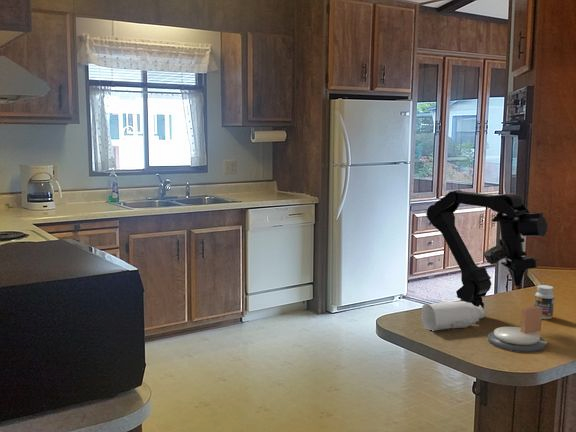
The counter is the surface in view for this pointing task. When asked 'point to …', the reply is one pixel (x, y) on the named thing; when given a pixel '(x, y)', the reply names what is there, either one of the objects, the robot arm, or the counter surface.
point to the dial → (523, 328)
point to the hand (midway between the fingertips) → (517, 285)
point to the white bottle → (450, 315)
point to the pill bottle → (545, 300)
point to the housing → (515, 347)
